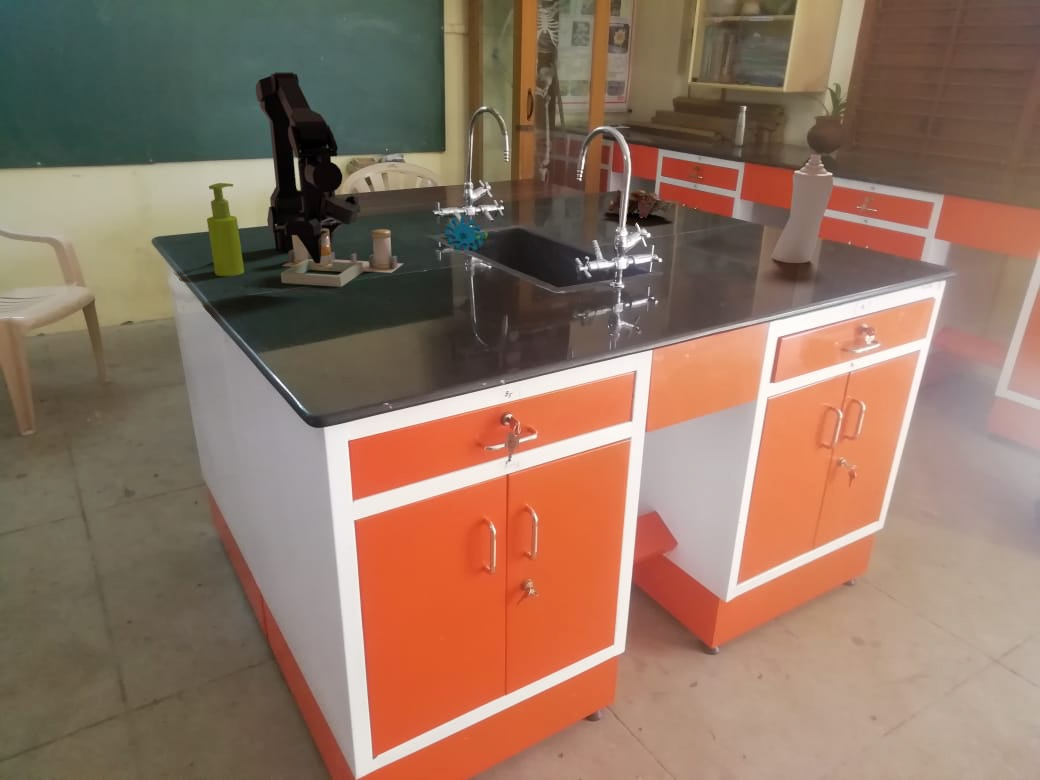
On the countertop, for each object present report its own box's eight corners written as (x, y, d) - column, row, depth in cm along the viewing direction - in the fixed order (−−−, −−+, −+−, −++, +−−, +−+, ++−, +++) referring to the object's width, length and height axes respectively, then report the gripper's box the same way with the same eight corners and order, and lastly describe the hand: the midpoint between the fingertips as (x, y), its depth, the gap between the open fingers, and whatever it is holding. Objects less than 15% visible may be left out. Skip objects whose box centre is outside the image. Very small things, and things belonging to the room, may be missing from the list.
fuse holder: (282, 272, 171) (280, 254, 170) (298, 263, 178) (296, 246, 177) (391, 279, 167) (390, 261, 165) (403, 270, 174) (402, 252, 172)
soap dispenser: (253, 275, 168) (241, 182, 160) (233, 283, 162) (219, 187, 154) (231, 273, 170) (218, 180, 162) (210, 281, 164) (195, 185, 156)
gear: (447, 248, 187) (444, 213, 191) (442, 260, 192) (439, 227, 196) (490, 251, 191) (487, 217, 194) (484, 264, 196) (481, 230, 200)
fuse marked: (309, 269, 160) (305, 231, 157) (317, 265, 164) (314, 227, 161) (327, 270, 160) (324, 232, 156) (335, 266, 163) (332, 228, 160)
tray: (282, 289, 159) (280, 273, 157) (307, 274, 170) (306, 259, 168) (341, 293, 157) (340, 276, 155) (363, 278, 167) (362, 262, 166)
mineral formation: (685, 219, 226) (689, 186, 226) (642, 207, 218) (646, 173, 218) (637, 230, 246) (640, 199, 246) (596, 219, 237) (599, 188, 238)
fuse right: (371, 268, 169) (369, 232, 166) (378, 264, 173) (375, 228, 169) (388, 269, 168) (386, 233, 165) (395, 265, 172) (393, 229, 169)
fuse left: (291, 264, 172) (287, 228, 169) (299, 259, 176) (295, 224, 173) (307, 265, 172) (304, 229, 168) (315, 260, 175) (312, 225, 172)
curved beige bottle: (822, 258, 188) (840, 152, 178) (818, 268, 179) (837, 157, 169) (773, 253, 193) (789, 149, 183) (767, 262, 184) (782, 154, 174)
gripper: (333, 194, 145) (340, 274, 152) (369, 179, 162) (374, 252, 168) (278, 191, 147) (287, 271, 153) (319, 177, 164) (326, 249, 170)
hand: (321, 260), depth 161 cm, fingers closed on fuse marked, 4 cm apart
